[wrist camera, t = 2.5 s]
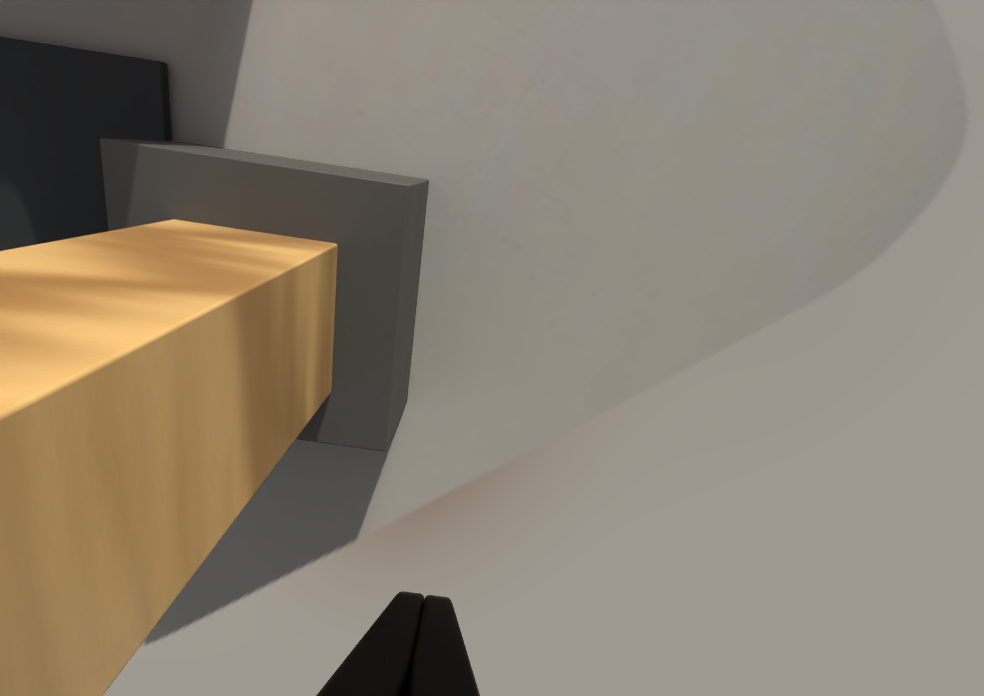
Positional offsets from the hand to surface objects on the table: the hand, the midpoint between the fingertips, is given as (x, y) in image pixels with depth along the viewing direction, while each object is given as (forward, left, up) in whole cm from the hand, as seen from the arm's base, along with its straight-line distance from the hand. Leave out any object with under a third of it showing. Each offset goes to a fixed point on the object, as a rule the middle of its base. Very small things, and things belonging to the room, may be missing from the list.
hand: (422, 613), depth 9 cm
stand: (+6, +3, -14) cm, 15 cm away
